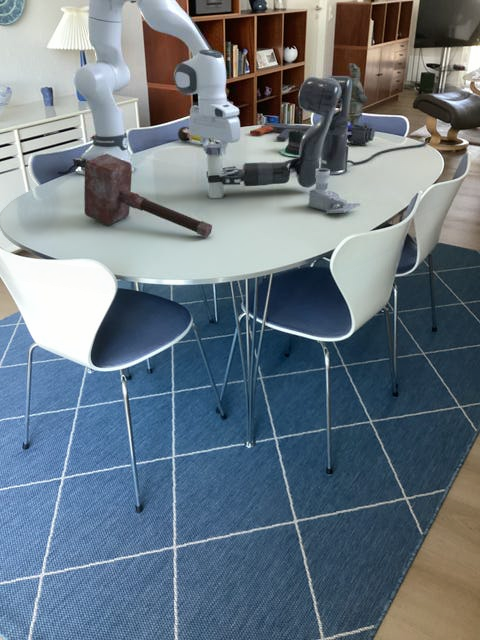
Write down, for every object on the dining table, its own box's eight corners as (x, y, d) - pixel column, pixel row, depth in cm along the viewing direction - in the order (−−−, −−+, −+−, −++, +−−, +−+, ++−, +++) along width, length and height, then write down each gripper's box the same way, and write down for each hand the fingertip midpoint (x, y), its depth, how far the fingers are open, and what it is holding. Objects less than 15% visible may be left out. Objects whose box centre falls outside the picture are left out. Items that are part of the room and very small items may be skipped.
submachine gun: (243, 132, 260) (267, 122, 278) (243, 138, 261) (267, 127, 280) (305, 138, 246) (326, 127, 265) (305, 144, 248) (326, 133, 266)
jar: (205, 196, 187) (203, 148, 179) (216, 192, 190) (214, 146, 182) (216, 199, 184) (214, 151, 176) (226, 195, 187) (225, 148, 179)
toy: (345, 120, 249) (377, 123, 242) (343, 139, 253) (375, 143, 246) (337, 123, 243) (369, 127, 236) (336, 143, 247) (367, 147, 240)
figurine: (211, 139, 238) (170, 125, 250) (210, 157, 242) (170, 142, 255) (230, 134, 247) (190, 120, 259) (229, 150, 251) (189, 136, 263)
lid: (210, 150, 183) (209, 143, 182) (226, 151, 181) (226, 144, 180) (202, 154, 179) (202, 146, 177) (219, 155, 177) (218, 148, 175)
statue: (367, 132, 266) (374, 63, 251) (349, 133, 264) (355, 64, 249) (357, 127, 275) (362, 61, 260) (339, 129, 273) (344, 62, 258)
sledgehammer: (221, 197, 152) (105, 152, 164) (203, 207, 145) (83, 159, 156) (213, 251, 162) (103, 205, 174) (195, 264, 155) (82, 215, 166)
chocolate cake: (332, 145, 241) (326, 158, 224) (294, 164, 249) (286, 177, 233) (317, 113, 235) (310, 124, 219) (279, 133, 244) (269, 145, 228)
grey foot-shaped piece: (322, 165, 173) (363, 174, 165) (319, 201, 179) (359, 212, 171) (305, 171, 168) (347, 180, 159) (303, 208, 174) (344, 219, 165)
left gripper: (183, 105, 177) (185, 149, 184) (228, 112, 165) (230, 159, 172) (197, 103, 181) (199, 146, 188) (243, 109, 169) (244, 155, 176)
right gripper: (255, 157, 189) (205, 160, 188) (261, 168, 177) (208, 171, 175) (255, 179, 193) (206, 182, 192) (261, 191, 181) (209, 194, 179)
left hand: (214, 152), depth 180 cm, fingers closed on lid, 5 cm apart
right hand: (207, 176), depth 184 cm, fingers closed on jar, 5 cm apart
